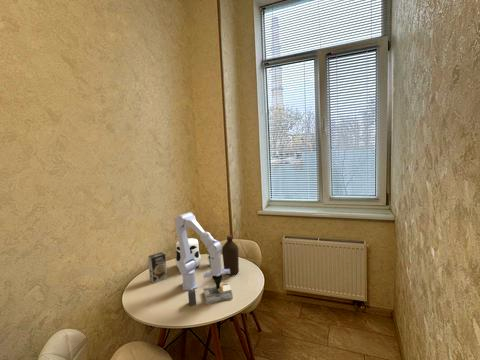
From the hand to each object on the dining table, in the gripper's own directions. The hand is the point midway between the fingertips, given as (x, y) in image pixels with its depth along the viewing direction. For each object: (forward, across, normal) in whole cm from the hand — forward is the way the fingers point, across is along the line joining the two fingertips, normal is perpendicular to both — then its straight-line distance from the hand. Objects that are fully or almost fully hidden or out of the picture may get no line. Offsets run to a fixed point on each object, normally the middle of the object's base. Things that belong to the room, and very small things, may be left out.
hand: (217, 287), depth 139 cm
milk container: (+4, -12, +45) cm, 47 cm away
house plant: (+4, +6, +40) cm, 41 cm away
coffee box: (+4, -32, +33) cm, 46 cm away
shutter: (+2, +4, 0) cm, 4 cm away
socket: (+4, 0, 0) cm, 4 cm away
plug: (+4, -14, -3) cm, 15 cm away
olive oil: (+4, +14, +24) cm, 28 cm away
